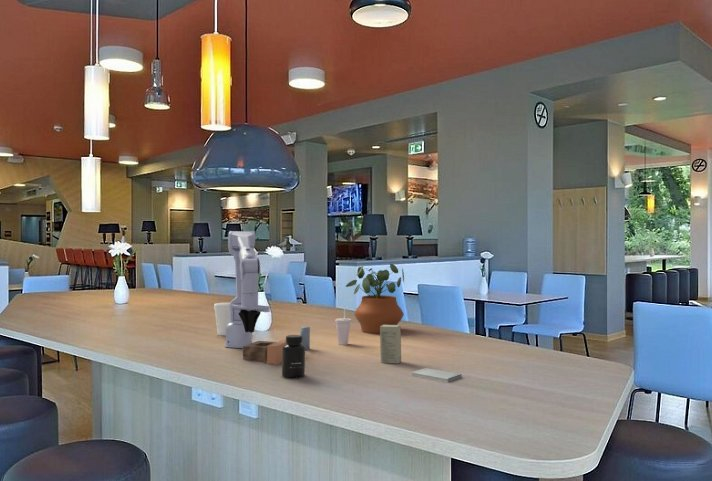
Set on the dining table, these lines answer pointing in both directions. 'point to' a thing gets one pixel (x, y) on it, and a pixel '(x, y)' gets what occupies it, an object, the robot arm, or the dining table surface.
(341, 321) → the smoothie
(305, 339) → the dowel
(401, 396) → the dining table surface
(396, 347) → the skincare box
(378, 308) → the potted plant
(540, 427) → the dining table surface
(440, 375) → the hard drive
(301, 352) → the supplement bottle
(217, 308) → the foam cup
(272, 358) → the block
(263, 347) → the pocket block
